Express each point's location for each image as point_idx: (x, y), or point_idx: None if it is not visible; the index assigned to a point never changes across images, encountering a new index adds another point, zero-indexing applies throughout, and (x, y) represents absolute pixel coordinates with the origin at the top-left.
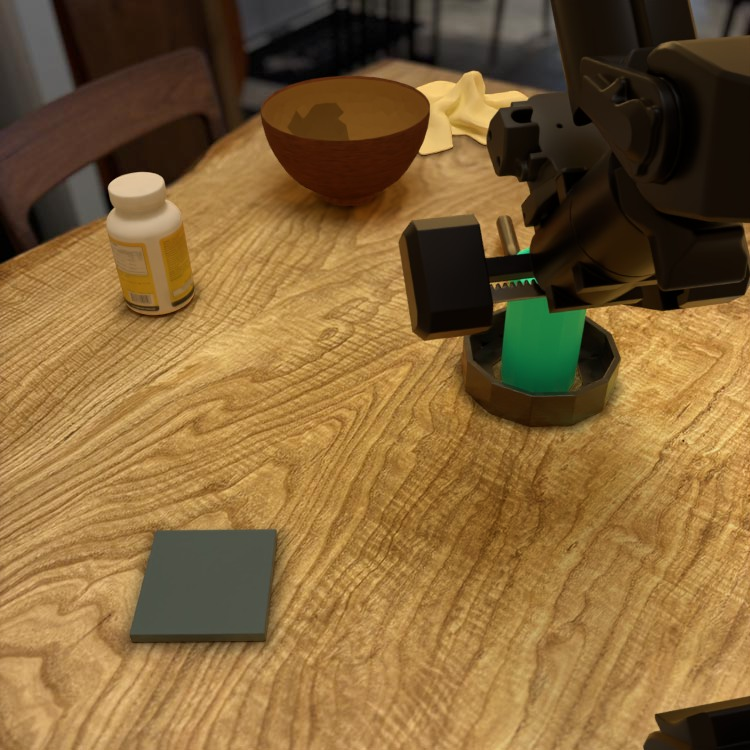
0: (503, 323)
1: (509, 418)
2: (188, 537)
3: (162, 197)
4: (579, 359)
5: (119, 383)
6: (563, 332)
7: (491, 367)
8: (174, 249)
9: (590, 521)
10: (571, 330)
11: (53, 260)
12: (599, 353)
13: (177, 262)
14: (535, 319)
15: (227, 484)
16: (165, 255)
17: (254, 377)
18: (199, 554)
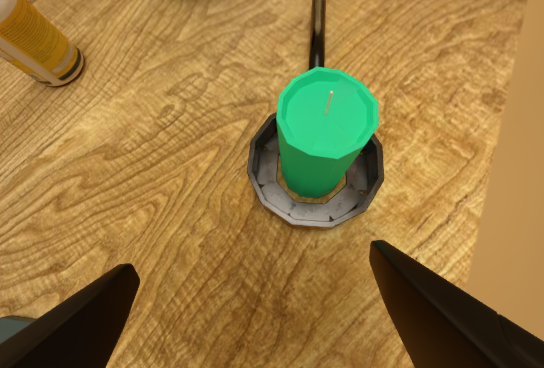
0: None
1: (278, 218)
2: (18, 329)
3: None
4: None
5: (20, 153)
6: (329, 177)
7: (276, 159)
8: (19, 36)
9: (318, 345)
10: (339, 173)
11: None
12: (367, 153)
13: (34, 47)
14: (300, 168)
15: (65, 265)
16: (13, 42)
17: (106, 154)
18: None
